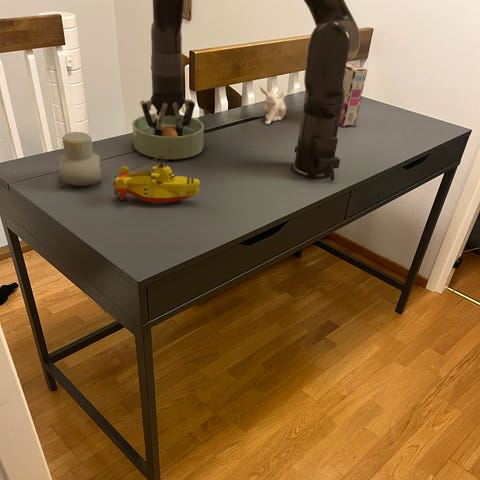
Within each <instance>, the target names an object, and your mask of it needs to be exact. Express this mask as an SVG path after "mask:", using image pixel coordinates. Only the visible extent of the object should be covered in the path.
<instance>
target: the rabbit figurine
mask: <svg viewBox="0 0 480 480" xmlns="http://www.w3.org/2000/svg"><path fill="white" fill-rule="evenodd" d="M274 86H275V85H274V83H272V84H271V88H270V92H268V91H267V89H265V88H264V87H263V86H262V85H261V84H260V85H259V90H260V92H261V94H264V95H265V96H266V98H265V104H264V107H263V109H264V112H265V113H266V114H265V120H264V123H265V124H267V125H270V124H271V122H276V121H282V120H283V119H284V118H285V115H286V114H287V106H286V105H285V101H284V99H285V94H284V91H283V90H281V92H280V91H278V90H277V91H276V94H277V95H279V97H277V96H276V95H275V94H274V93H275V87H274Z"/></svg>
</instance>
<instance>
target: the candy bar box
mask: <svg viewBox="0 0 480 480" xmlns="http://www.w3.org/2000/svg"><path fill="white" fill-rule="evenodd" d="M367 73H368V69H366V68H364V67H362V66H359V65H356V64H353V63H351V62H350V61H349V62H347V64H346V69H345V75H344V81H343V85H344V87H345V89H346V95H345V99H344V104H343V109H342V114H341V118H340V123H339V126H341V127H342V128H344V127H345V128H346V127H355V126H356V121H357V117H358V112H359V108H360V104H361V99H362V95H363V90H364V86H365V82H366V77H367Z"/></svg>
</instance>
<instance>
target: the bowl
mask: <svg viewBox="0 0 480 480" xmlns="http://www.w3.org/2000/svg"><path fill="white" fill-rule="evenodd" d="M155 115H156V113H150V116H151V119H152V121H155ZM180 116H181V120H183V118H184V114H180ZM131 123H132V124H131V125H132V140H133V148H134V149H135V150H136V151H137V152H139V153H140V154H142V155H144V156H147V157H149V158H150V157H151V158H153V159H155V158H157V157H160V156H161V155H162V160H183V159H187V158H191V157H194V156H197V155H199V154H200V153H201V152H202V151H203V150H204V148H205V126H204V123H203V122H202V121H201V120H199V119H197V118H195V117H193V116H192V118H191V121H190V125H189V126H184V127H183V129H182V136H178V137H165V136H156V135H153V133H154V128H151V127H149V125H148V124H147V121H146V119H145V116H144V115H142V116H138V117H137V118H135V119H134V120H133V121H132V122H131ZM165 125H170V126H172V127H173V128H174V129H175V131H176V128H175V126H177V124H176V121H175V118H174V116H170V115H168V116H164V119H163V121H162V124H161V127H163V126H165Z"/></svg>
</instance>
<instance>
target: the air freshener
mask: <svg viewBox="0 0 480 480" xmlns="http://www.w3.org/2000/svg"><path fill="white" fill-rule="evenodd" d="M61 140H62V147H63V153H64V154H62V155H61V156H60V158H59V174H60V179H61V181H62V182H64V183H66V184H67V185H72V186H77V187H87V186H92V185H95V184H96V183H98V182H100V181H101V180H102V178H103V177H102V176H103V173H102V160H101V156H100V155H99V154H97V153H95V152H94V150H93V149H94V148H93V143H92V142H93V141H92V136H91V135H90V134H88V133H86V132H81V131H71V132H67V133H64V135H63V136H62V137H61Z"/></svg>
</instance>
